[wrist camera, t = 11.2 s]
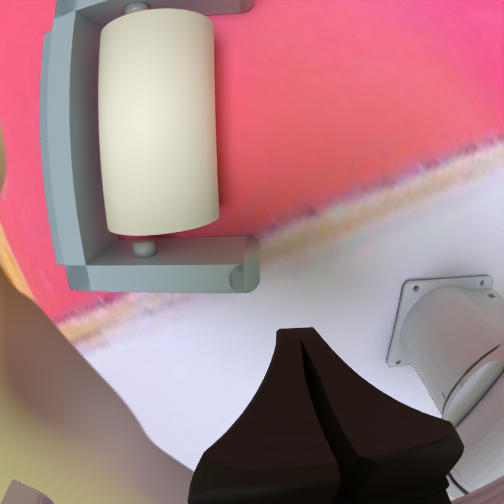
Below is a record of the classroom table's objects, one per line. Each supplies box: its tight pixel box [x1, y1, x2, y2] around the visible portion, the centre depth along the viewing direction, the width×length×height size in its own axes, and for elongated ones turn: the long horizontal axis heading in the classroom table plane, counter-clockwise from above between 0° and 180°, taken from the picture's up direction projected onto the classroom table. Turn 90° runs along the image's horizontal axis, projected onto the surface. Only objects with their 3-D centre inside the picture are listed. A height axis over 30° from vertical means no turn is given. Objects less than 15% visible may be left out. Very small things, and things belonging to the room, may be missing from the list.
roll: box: [98, 8, 219, 236], centre depth 15 cm, size 12×6×6 cm, turn 1°
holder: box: [40, 0, 260, 293], centre depth 16 cm, size 15×18×5 cm
